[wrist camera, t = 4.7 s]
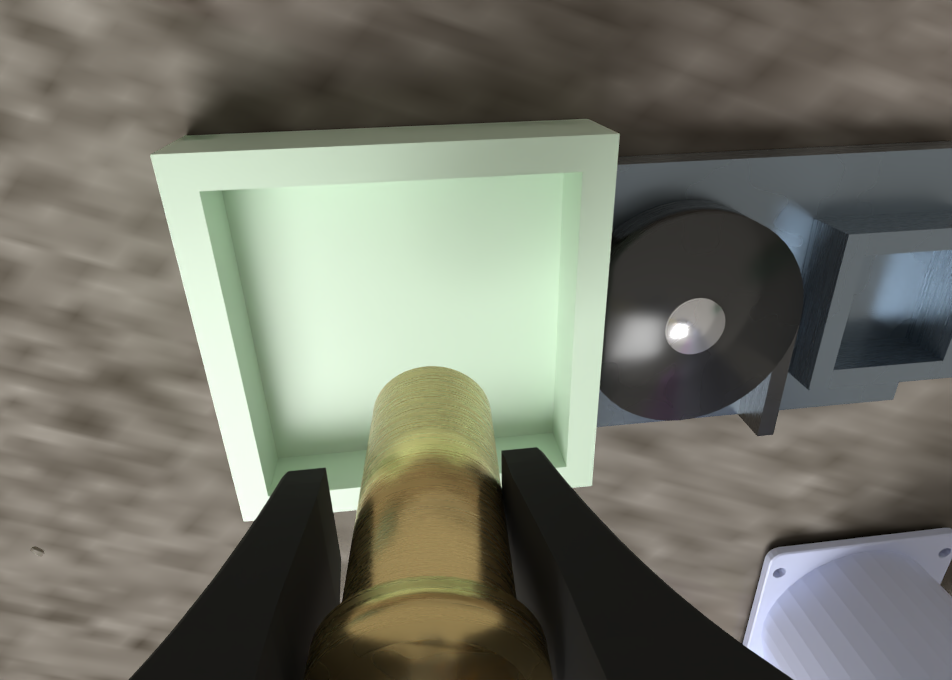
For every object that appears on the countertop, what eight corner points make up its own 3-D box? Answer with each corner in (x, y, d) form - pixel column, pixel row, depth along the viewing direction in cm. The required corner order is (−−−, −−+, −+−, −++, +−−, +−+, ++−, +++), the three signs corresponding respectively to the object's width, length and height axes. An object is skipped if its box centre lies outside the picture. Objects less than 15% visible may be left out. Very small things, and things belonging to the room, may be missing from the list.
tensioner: (880, 383, 21) (937, 424, 19) (551, 412, 20) (571, 460, 18) (957, 140, 18) (1039, 157, 15) (561, 159, 16) (588, 180, 14)
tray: (569, 436, 21) (591, 485, 18) (260, 465, 20) (243, 521, 17) (587, 118, 16) (619, 133, 14) (185, 135, 15) (150, 154, 13)
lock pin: (506, 471, 13) (551, 769, 8) (366, 479, 13) (319, 787, 8) (505, 349, 12) (559, 611, 7) (349, 356, 12) (278, 630, 7)
